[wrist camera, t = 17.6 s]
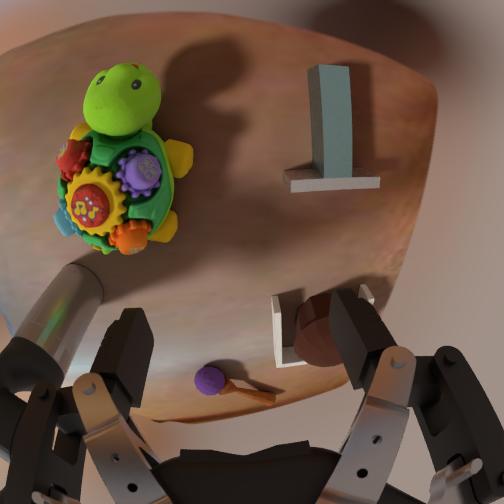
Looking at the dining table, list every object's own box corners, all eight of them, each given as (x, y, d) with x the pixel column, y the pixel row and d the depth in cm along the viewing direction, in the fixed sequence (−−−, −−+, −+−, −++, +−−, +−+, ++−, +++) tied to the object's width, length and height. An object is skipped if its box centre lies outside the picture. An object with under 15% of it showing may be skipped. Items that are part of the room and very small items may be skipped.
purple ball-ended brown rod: (261, 413, 56) (187, 392, 47) (261, 391, 60) (191, 367, 52) (280, 407, 53) (203, 386, 44) (279, 384, 57) (206, 358, 49)
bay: (271, 296, 43) (274, 313, 39) (365, 283, 43) (374, 298, 39) (274, 351, 50) (276, 368, 46) (353, 339, 50) (359, 354, 46)
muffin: (282, 335, 47) (290, 380, 39) (292, 287, 42) (305, 333, 33) (342, 333, 48) (358, 374, 40) (359, 287, 43) (383, 328, 34)
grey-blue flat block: (275, 70, 27) (282, 63, 22) (360, 74, 27) (379, 70, 22) (283, 181, 34) (291, 192, 29) (362, 177, 34) (379, 188, 29)
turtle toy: (219, 83, 27) (210, 69, 17) (174, 250, 38) (155, 303, 28) (96, 65, 24) (43, 57, 14) (73, 222, 34) (31, 263, 24)
